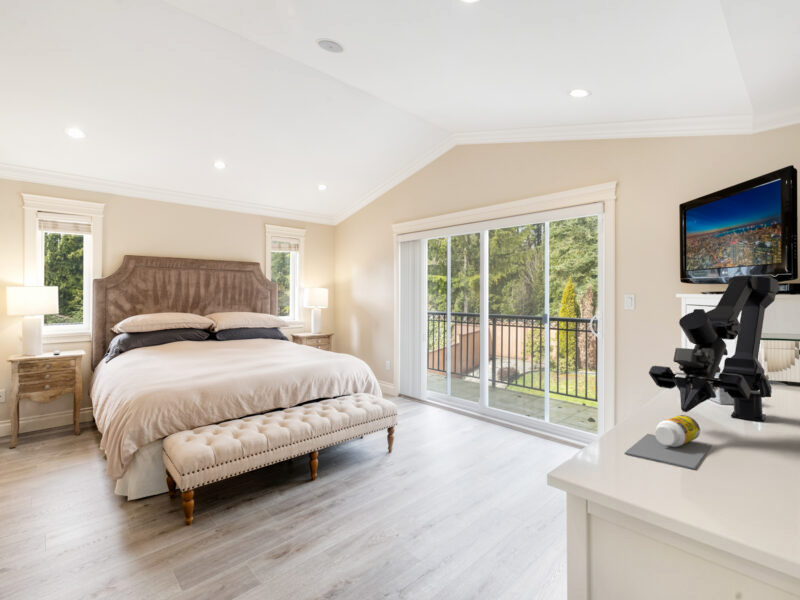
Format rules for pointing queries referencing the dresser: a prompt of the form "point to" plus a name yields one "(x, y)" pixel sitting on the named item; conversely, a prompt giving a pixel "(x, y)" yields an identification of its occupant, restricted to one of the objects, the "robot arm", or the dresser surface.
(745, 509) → the dresser surface
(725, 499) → the dresser surface
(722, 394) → the medicine box
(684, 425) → the supplement bottle
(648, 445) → the mat
